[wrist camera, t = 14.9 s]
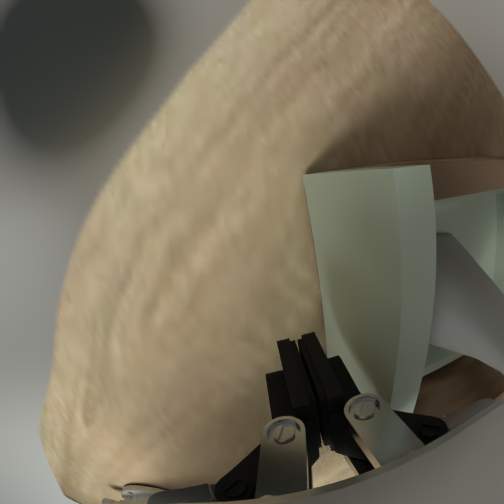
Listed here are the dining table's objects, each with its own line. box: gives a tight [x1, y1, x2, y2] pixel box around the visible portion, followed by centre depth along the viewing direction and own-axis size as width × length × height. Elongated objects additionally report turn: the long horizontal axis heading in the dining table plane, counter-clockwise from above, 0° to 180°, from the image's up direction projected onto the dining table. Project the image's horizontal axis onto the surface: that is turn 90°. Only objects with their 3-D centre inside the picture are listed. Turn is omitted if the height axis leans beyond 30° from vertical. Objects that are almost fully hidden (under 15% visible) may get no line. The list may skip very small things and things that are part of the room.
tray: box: [302, 165, 504, 413], centre depth 12 cm, size 16×15×9 cm
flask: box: [429, 233, 504, 375], centre depth 9 cm, size 7×7×10 cm
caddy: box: [324, 156, 504, 418], centre depth 12 cm, size 16×15×9 cm
